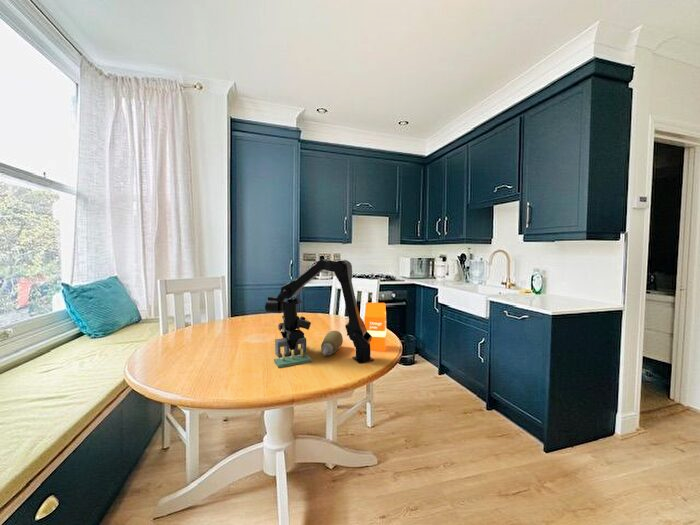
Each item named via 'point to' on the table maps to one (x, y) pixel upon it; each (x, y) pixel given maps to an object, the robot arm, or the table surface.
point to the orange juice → (376, 325)
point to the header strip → (292, 359)
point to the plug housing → (283, 343)
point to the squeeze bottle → (331, 342)
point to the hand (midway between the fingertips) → (290, 350)
